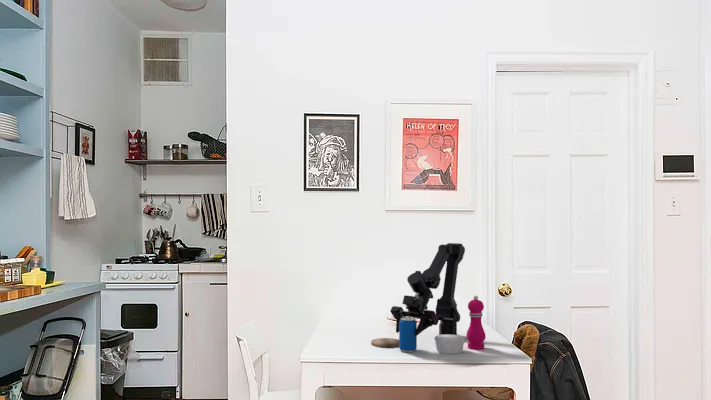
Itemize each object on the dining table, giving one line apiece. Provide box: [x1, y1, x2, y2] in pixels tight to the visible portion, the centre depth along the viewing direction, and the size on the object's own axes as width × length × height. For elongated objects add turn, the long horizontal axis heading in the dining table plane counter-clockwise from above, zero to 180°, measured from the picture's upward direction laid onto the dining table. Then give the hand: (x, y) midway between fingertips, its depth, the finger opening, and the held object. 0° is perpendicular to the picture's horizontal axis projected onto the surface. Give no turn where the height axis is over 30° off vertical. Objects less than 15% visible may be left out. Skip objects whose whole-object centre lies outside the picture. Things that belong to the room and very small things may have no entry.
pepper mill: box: [465, 295, 486, 351], centre depth 216 cm, size 7×7×20 cm
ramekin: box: [434, 334, 466, 355], centre depth 211 cm, size 11×11×5 cm
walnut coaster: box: [370, 337, 399, 348], centre depth 222 cm, size 12×12×1 cm
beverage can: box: [398, 316, 418, 353], centre depth 212 cm, size 6×6×12 cm
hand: (406, 333), depth 210 cm, fingers open, 8 cm apart
